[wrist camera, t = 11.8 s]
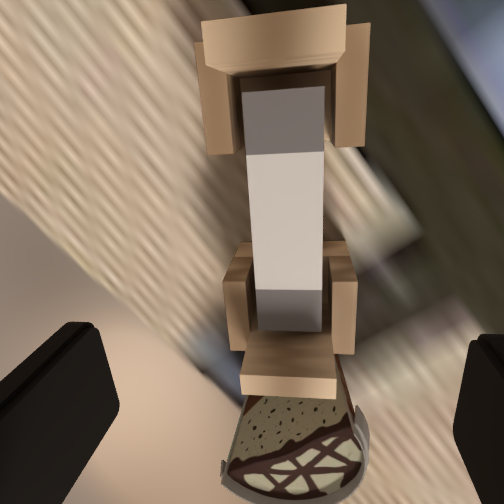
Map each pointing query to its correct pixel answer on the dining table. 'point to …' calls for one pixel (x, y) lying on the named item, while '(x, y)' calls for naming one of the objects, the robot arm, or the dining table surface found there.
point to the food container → (298, 449)
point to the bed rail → (286, 204)
